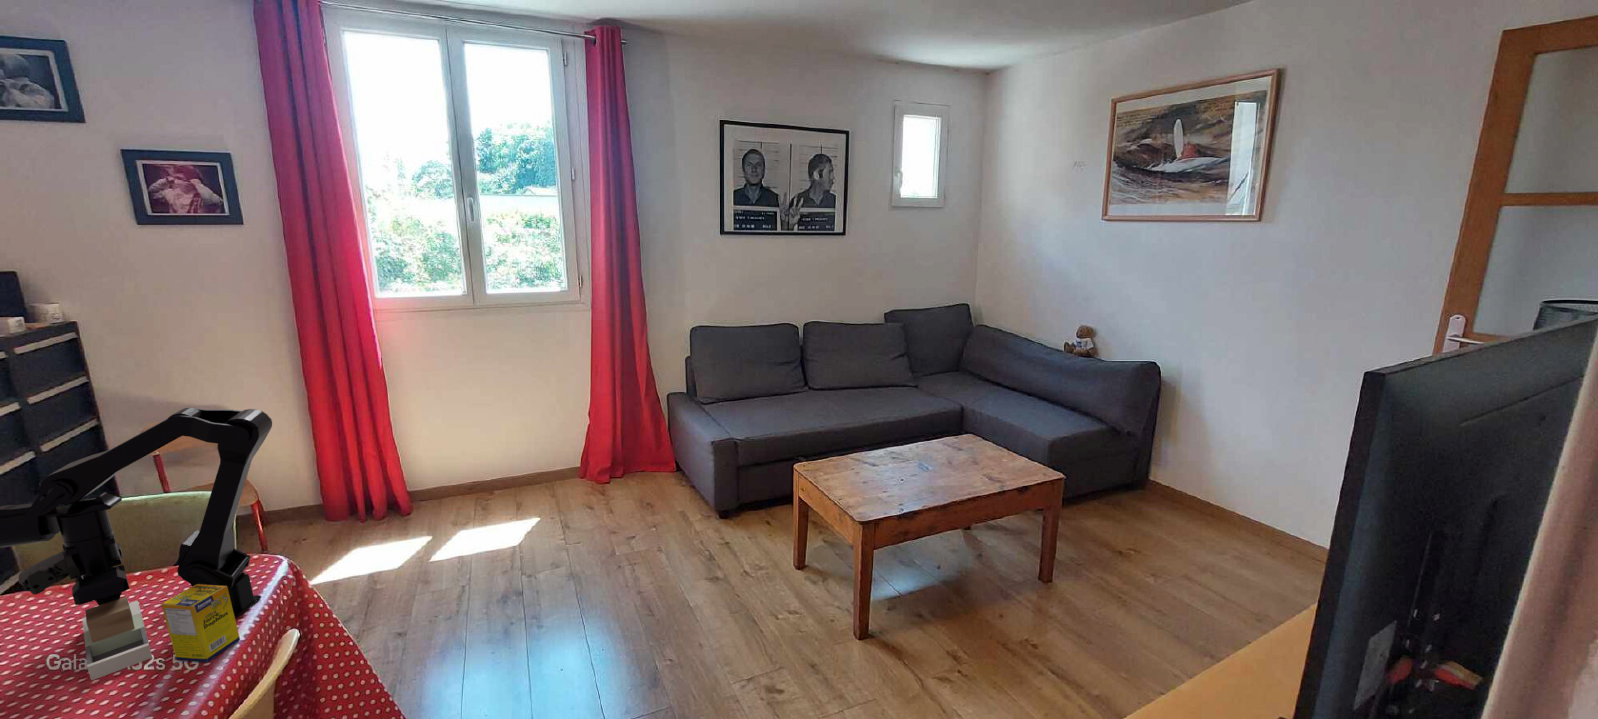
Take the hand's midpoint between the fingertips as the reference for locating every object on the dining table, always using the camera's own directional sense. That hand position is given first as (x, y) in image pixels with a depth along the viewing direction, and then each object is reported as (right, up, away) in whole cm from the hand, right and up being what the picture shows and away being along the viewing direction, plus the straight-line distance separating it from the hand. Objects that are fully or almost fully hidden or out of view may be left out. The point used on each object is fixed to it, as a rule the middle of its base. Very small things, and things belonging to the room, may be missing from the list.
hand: (110, 613), depth 113 cm
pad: (+3, -4, -2) cm, 6 cm away
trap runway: (+3, -4, -1) cm, 5 cm away
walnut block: (+3, -2, -3) cm, 5 cm away
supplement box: (+21, -5, -4) cm, 22 cm away
